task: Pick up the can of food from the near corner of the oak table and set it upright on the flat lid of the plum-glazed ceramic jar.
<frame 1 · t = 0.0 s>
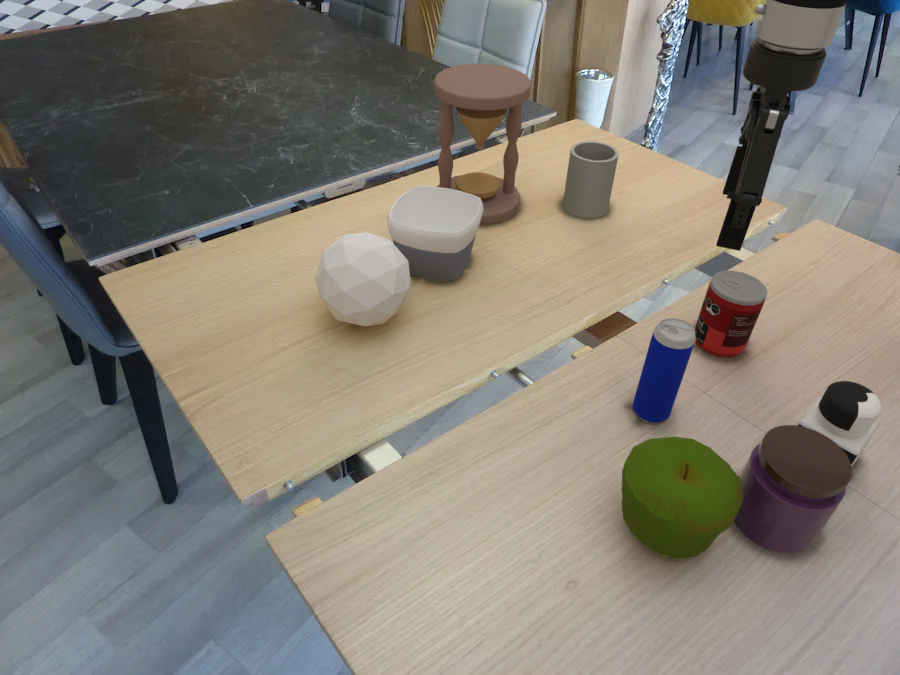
hand: (730, 219, 84), 25 cm above the table, tool pointing down, fingers open, 13 cm apart
apple: (664, 526, 79), on the table
beverage can: (650, 412, 93), on the table
cup: (585, 207, 136), on the table
geometric shape: (366, 315, 108), on the table
hourglass: (476, 204, 136), on the table
canned food: (717, 343, 104), on the table
bowl: (435, 263, 120), on the table
jar: (771, 516, 80), on the table
medicine bottle: (817, 460, 87), on the table
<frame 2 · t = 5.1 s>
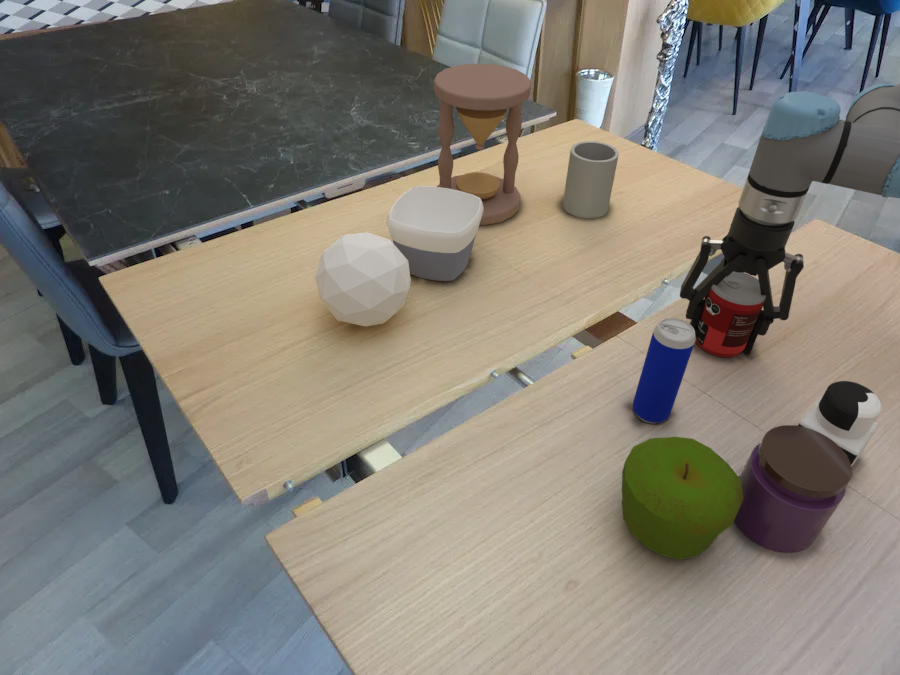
hand: (718, 340, 104), 0 cm above the table, tool pointing down, fingers closed on canned food, 8 cm apart
canned food: (717, 342, 104), on the table, touching gripper
everything else where it was.
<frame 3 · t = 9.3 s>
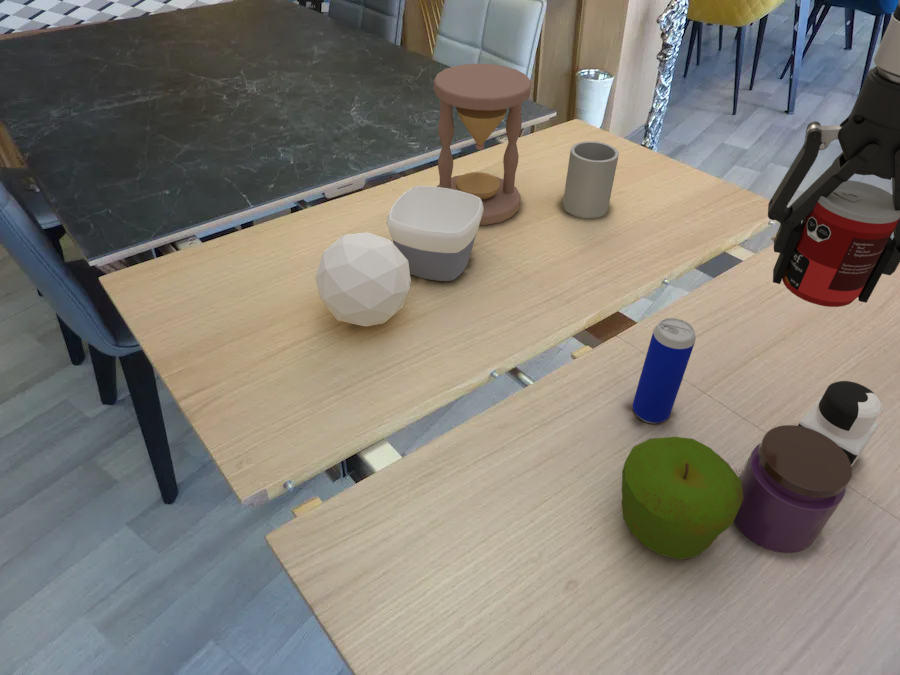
hand: (818, 285, 73), 25 cm above the table, tool pointing down, fingers closed on canned food, 8 cm apart
canned food: (816, 288, 73), point 25 cm above the table, touching gripper
everything else where it was.
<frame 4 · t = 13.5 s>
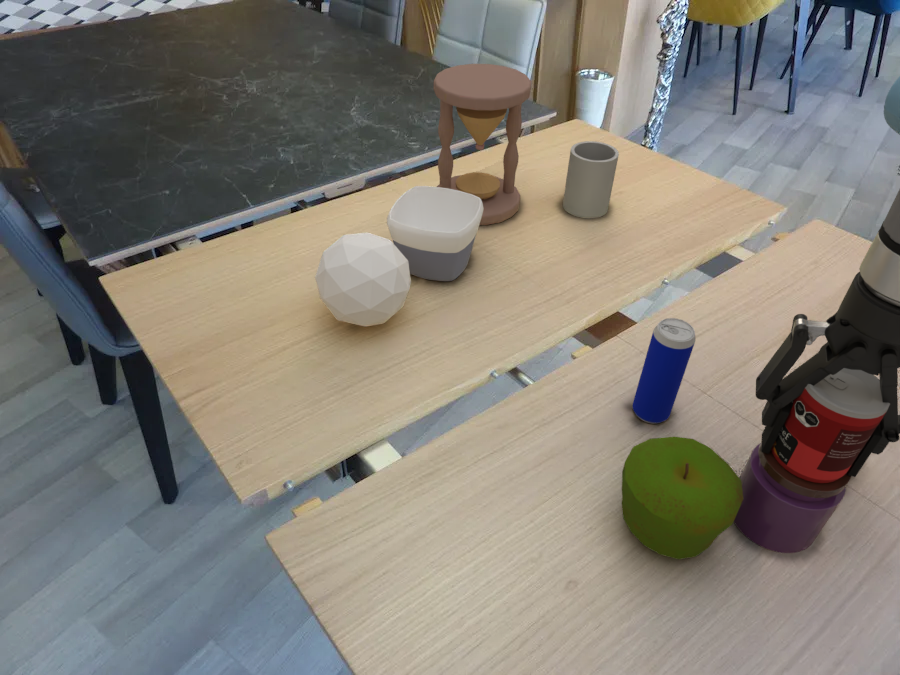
hand: (807, 455, 73), 11 cm above the table, tool pointing down, fingers closed on canned food, 8 cm apart
canned food: (805, 457, 73), point 11 cm above the table, touching gripper
everything else where it was.
when the fingers open (13 cm above the table, at t = 21.1 s): canned food drops 1 cm, resting on jar.
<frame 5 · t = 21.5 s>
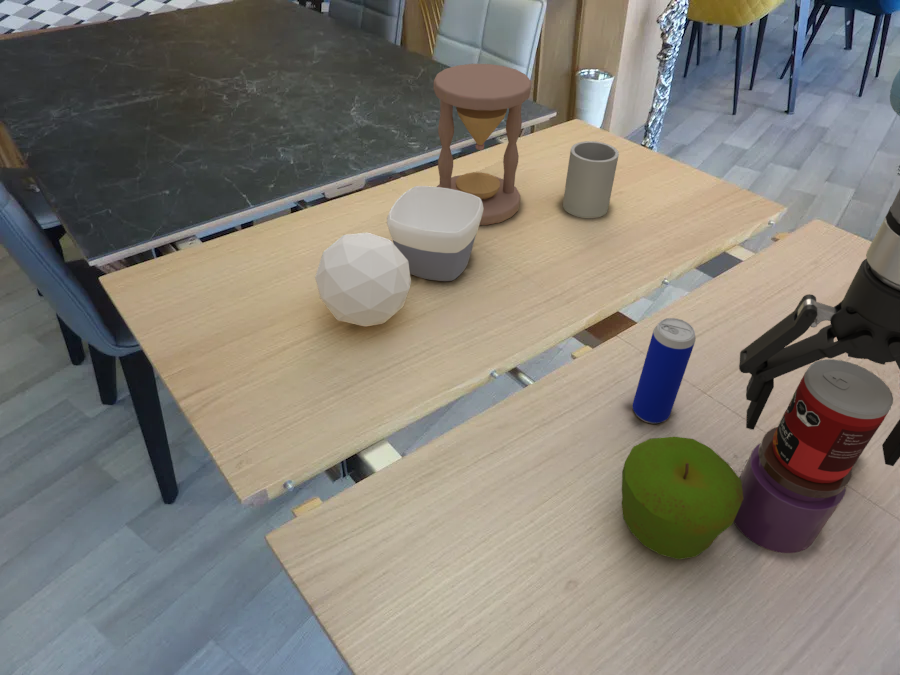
hand: (816, 437, 71), 14 cm above the table, tool pointing down, fingers open, 13 cm apart
canned food: (807, 457, 73), point 11 cm above the table, touching jar
everything else where it was.
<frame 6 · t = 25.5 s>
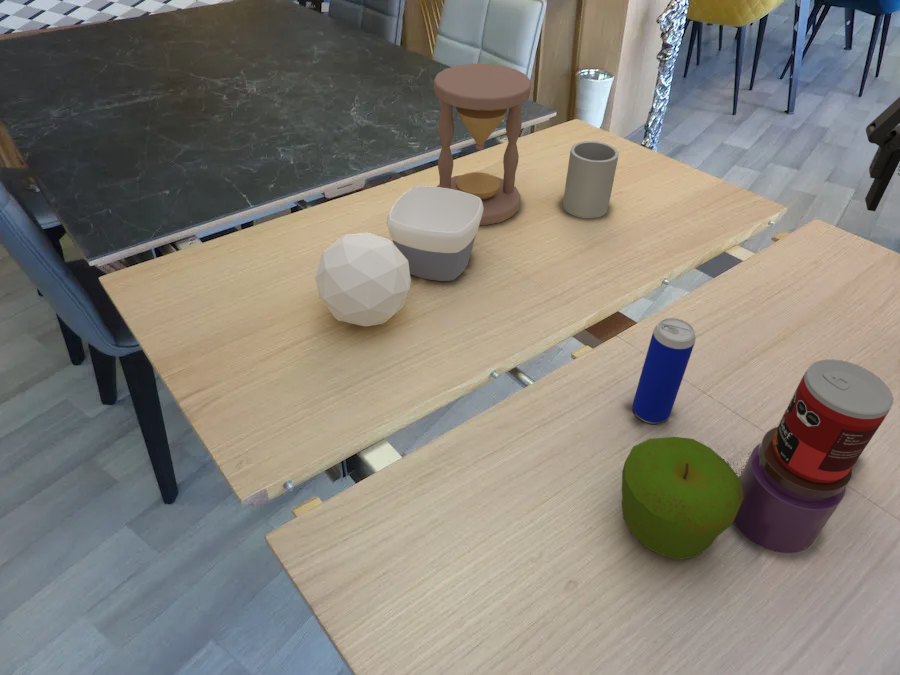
nothing on the table moved.
at the end: canned food 0.2 cm off-centre on the jar, point 11.0 cm above the jar's base; canned food tilted 0°; the gripper is holding nothing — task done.
